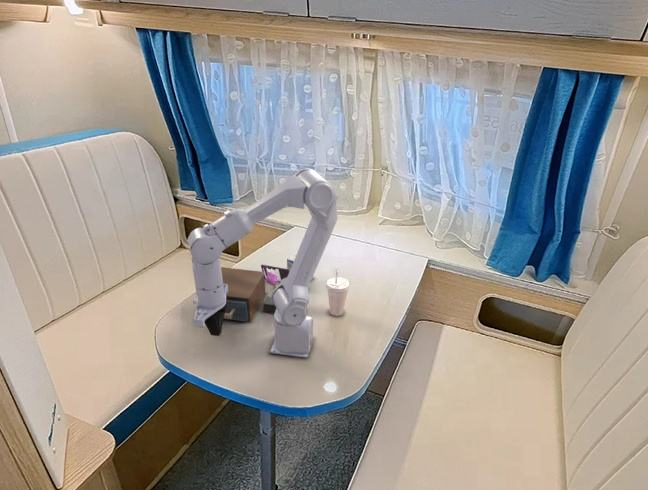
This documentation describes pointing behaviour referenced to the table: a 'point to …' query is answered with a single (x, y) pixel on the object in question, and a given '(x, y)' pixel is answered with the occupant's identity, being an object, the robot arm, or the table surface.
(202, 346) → the table surface
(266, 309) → the remote
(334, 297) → the smoothie
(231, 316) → the drawer
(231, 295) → the cabinet
